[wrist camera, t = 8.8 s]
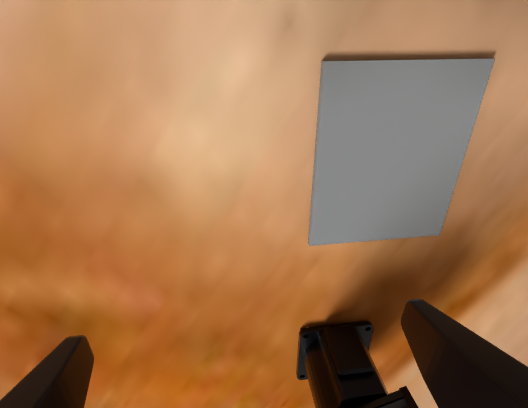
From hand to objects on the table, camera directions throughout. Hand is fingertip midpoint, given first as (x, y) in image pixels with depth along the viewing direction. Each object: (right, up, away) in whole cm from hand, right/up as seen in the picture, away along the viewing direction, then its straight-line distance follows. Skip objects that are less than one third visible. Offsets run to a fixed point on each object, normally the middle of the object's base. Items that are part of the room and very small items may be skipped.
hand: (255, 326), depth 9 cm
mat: (+8, +6, +12) cm, 16 cm away
